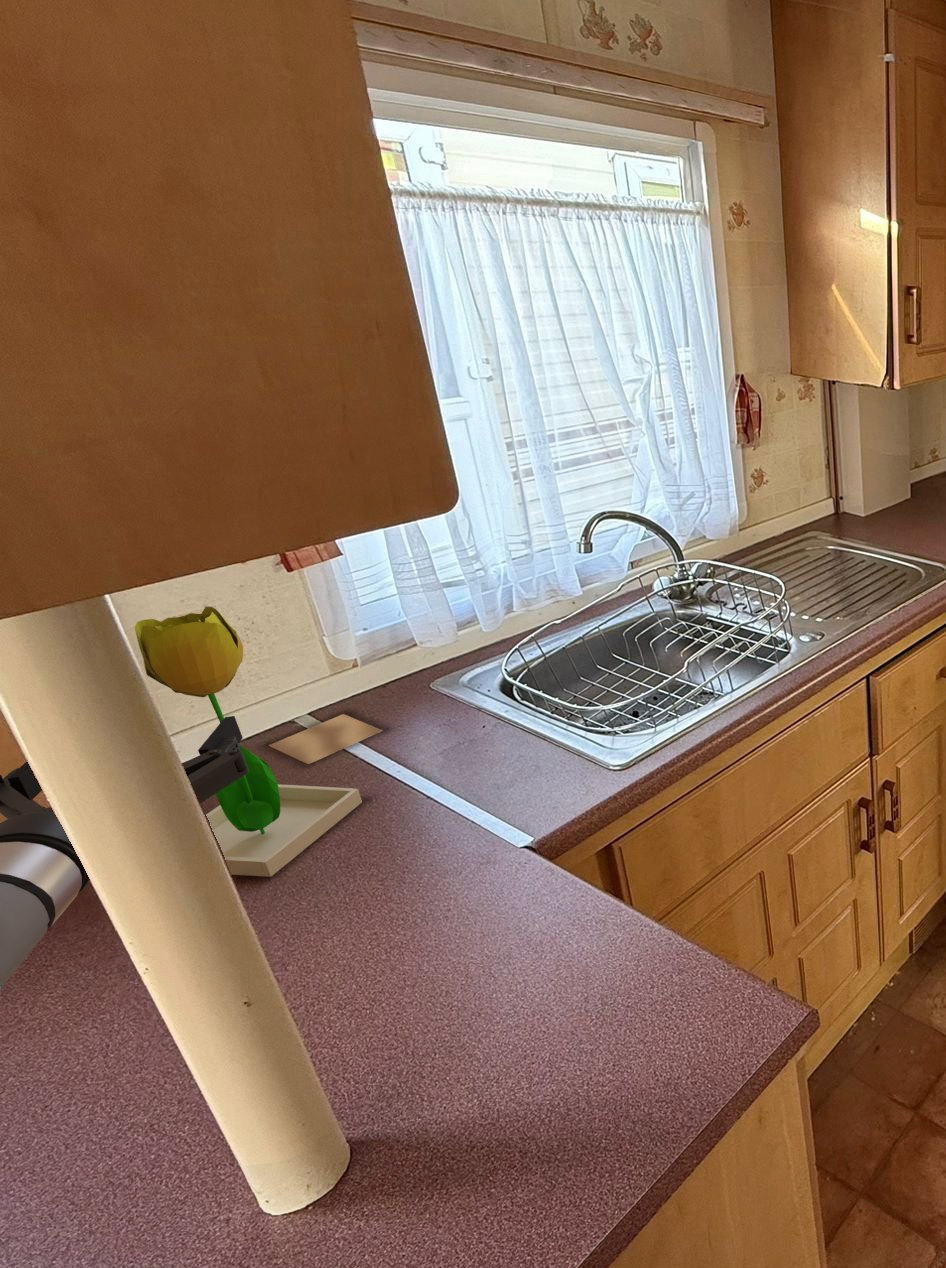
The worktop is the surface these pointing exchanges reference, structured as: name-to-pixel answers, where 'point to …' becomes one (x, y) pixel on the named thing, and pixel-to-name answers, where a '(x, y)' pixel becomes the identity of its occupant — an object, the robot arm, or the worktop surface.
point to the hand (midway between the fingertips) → (149, 739)
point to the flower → (203, 665)
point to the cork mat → (325, 738)
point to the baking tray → (283, 828)
